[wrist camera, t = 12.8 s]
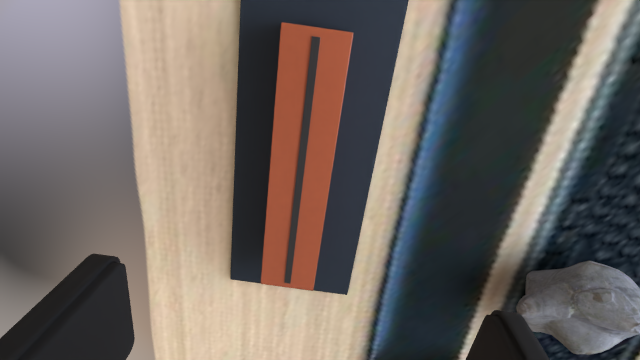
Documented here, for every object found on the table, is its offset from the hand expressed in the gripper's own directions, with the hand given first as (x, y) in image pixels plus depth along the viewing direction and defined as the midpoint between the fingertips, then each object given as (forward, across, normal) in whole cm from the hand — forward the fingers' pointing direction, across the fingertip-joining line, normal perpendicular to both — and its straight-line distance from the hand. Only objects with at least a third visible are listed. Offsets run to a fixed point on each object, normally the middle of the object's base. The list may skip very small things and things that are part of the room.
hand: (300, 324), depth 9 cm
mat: (+20, +1, +3) cm, 20 cm away
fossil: (+20, -22, +11) cm, 32 cm away
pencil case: (+19, +1, +3) cm, 19 cm away
